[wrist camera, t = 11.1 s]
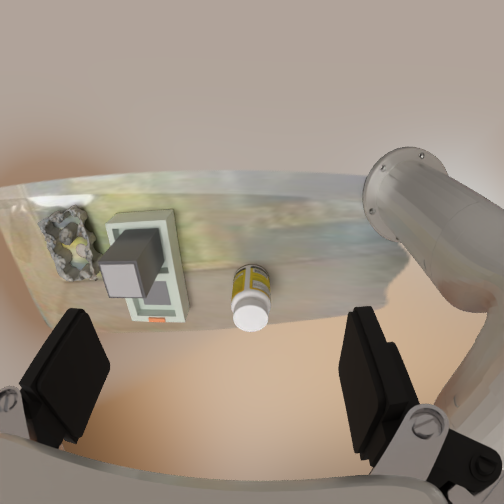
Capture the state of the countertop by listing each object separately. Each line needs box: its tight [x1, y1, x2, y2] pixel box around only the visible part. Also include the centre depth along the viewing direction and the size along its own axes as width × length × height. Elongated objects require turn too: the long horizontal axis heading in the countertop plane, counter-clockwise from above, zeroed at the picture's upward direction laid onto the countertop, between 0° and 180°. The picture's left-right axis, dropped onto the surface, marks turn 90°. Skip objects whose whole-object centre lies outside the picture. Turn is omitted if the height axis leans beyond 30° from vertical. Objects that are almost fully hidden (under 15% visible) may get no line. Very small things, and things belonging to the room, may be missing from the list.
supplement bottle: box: [231, 265, 271, 332], centre depth 39 cm, size 5×5×8 cm
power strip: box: [105, 209, 190, 322], centre depth 40 cm, size 15×8×4 cm, turn 2°
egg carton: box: [38, 205, 103, 281], centre depth 39 cm, size 11×8×4 cm
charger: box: [98, 228, 164, 298], centre depth 35 cm, size 5×5×8 cm
